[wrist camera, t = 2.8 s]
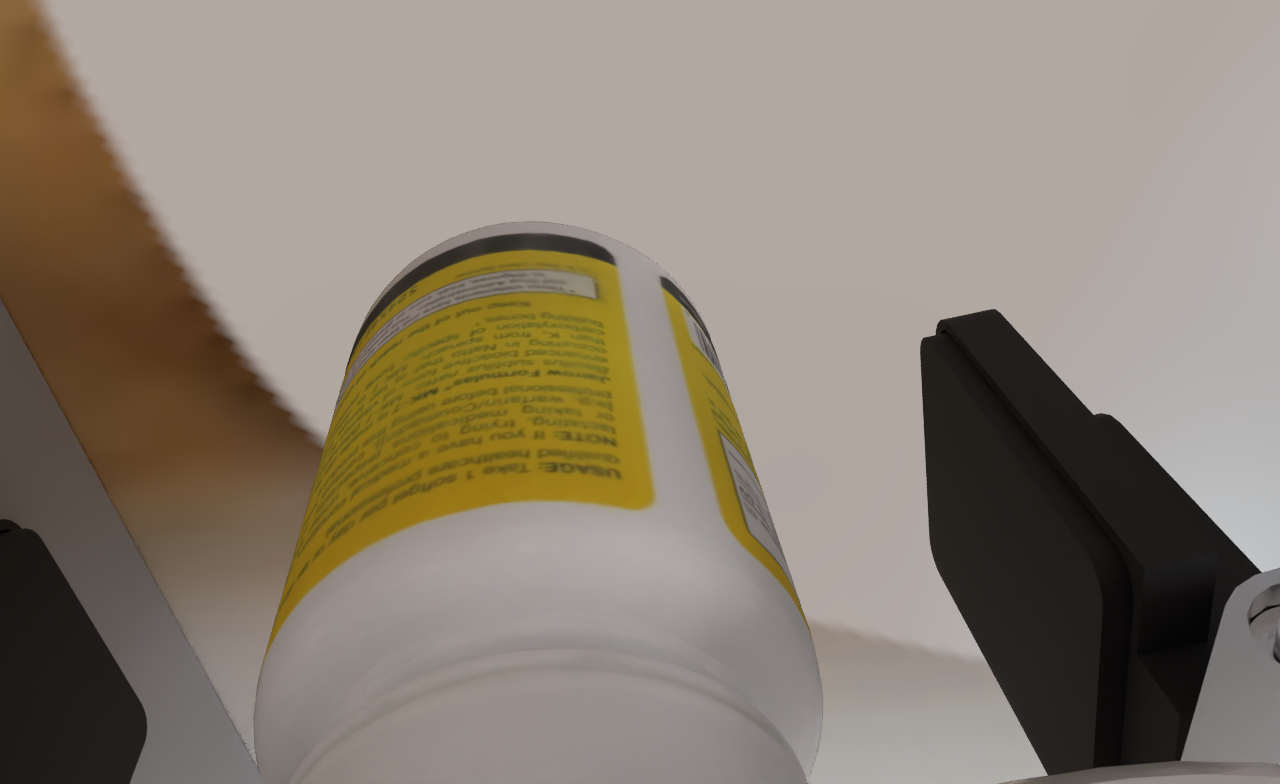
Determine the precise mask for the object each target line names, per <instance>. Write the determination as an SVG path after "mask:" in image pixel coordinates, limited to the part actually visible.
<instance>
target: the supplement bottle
mask: <svg viewBox="0 0 1280 784" xmlns="http://www.w3.org/2000/svg"><path fill="white" fill-rule="evenodd" d="M822 716H823V698H822V685H821V678H820V673H819V668H818V663H817V658H816V653H815V649H814V645H813V641H812V637H811V634H810V630H809V626H808V624H807V621H806V618H805V616H804V613H803V611H802V608H801V604H800V601H799V598H798V595H797V593H796V590H795V587H794V584H793V580H792V577H791V574H790V572H789V569H788V566H787V563H786V560H785V557H784V554H783V551H782V548H781V545H780V542H779V540H778V536H777V533H776V530H775V528H774V524H773V522H772V519H771V516H770V512H769V509H768V506H767V503H766V500H765V497H764V494H763V491H762V488H761V485H760V483H759V480H758V477H757V474H756V471H755V469H754V466H753V462H752V459H751V455H750V453H749V450H748V447H747V444H746V441H745V438H744V436H743V432H742V429H741V426H740V423H739V420H738V417H737V414H736V411H735V408H734V406H733V403H732V400H731V397H730V394H729V390H728V387H727V384H726V382H725V380H724V376H723V373H722V370H721V367H720V363H719V361H718V357H717V354H716V351H715V349H714V346H713V344H712V342H711V339H710V335H709V333H708V331H707V328H706V326H705V324H704V322H703V320H702V318H701V316H700V314H699V312H698V310H697V309H696V307H695V305H694V304H693V302H692V301H691V299H690V298H689V297H688V295H687V294H686V293H685V291H684V290H683V289H682V288H681V286H680V285H679V284H678V283H677V282H676V281H675V280H674V279H673V278H672V277H671V276H670V275H669V274H668V273H667V272H666V271H665V270H664V269H662V268H661V267H660V266H659V265H658V264H657V263H655V262H654V261H653V260H651V259H650V258H649V257H647V256H645V255H644V254H642V253H641V252H639V251H637V250H636V249H634V248H632V247H630V246H628V245H626V244H624V243H622V242H620V241H618V240H615V239H613V238H610V237H607V236H605V235H602V234H599V233H597V232H593V231H590V230H587V229H583V228H579V227H574V226H568V225H564V224H557V223H548V222H512V223H502V224H497V225H492V226H486V227H483V228H479V229H476V230H472V231H469V232H466V233H464V234H461V235H459V236H456V237H453V238H451V239H449V240H447V241H445V242H442V243H440V244H439V245H437V246H435V247H434V248H432V249H430V250H429V251H427V252H425V253H424V254H423V255H421V256H420V257H418V258H417V259H415V260H414V261H413V262H412V263H410V264H409V265H408V266H407V267H406V268H405V269H403V270H402V272H400V273H399V274H398V275H397V276H396V277H395V278H394V279H393V280H392V281H391V282H390V284H389V285H388V286H387V287H386V288H385V289H384V290H383V292H382V293H381V295H380V296H379V297H378V299H377V300H376V301H375V303H374V304H373V306H372V307H371V309H370V311H369V312H368V314H367V316H366V318H365V320H364V322H363V324H362V327H361V329H360V331H359V333H358V336H357V338H356V341H355V343H354V346H353V349H352V352H351V355H350V358H349V361H348V364H347V368H346V373H345V377H344V380H343V383H342V386H341V390H340V394H339V397H338V400H337V403H336V407H335V411H334V415H333V419H332V422H331V426H330V429H329V432H328V436H327V439H326V442H325V446H324V449H323V453H322V457H321V460H320V464H319V467H318V471H317V475H316V478H315V481H314V485H313V488H312V491H311V495H310V499H309V503H308V506H307V509H306V513H305V516H304V520H303V523H302V527H301V530H300V534H299V537H298V541H297V545H296V548H295V552H294V555H293V559H292V563H291V566H290V570H289V574H288V577H287V580H286V584H285V587H284V591H283V594H282V598H281V601H280V605H279V608H278V611H277V615H276V618H275V622H274V625H273V629H272V632H271V636H270V640H269V643H268V647H267V650H266V654H265V657H264V661H263V664H262V668H261V672H260V676H259V680H258V686H257V694H256V702H255V710H254V745H255V751H256V758H257V765H258V768H259V772H260V775H261V779H262V782H263V784H808V783H807V781H808V778H809V776H810V773H811V770H812V767H813V764H814V760H815V757H816V754H817V751H818V747H819V742H820V735H821V726H822Z"/></svg>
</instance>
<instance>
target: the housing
mask: <svg viewBox="0 0 1280 784" xmlns="http://www.w3.org/2000/svg"><path fill="white" fill-rule="evenodd" d="M0 519H7V520H12V521H13V522H15V523H16V524H18V525H19V526H20V527H21V528H22V529H24V528H27V529H32V530H33V531H35V532H36V533H37V534H38V535H39V536H40V537H41V539H42V540H43V542H44V543H45V545H46V547H47V548H48V550H49V552H50V553H51V555H52V557H53V558H54V560H55V562H56V563H57V565H58V566H59V568H60V570H61V571H62V573H63V575H64V576H65V578H66V580H67V581H68V583H69V585H70V586H71V588H72V590H73V591H74V593H75V594H76V596H77V598H78V599H79V601H80V603H81V604H82V606H83V608H84V609H85V611H86V613H87V614H88V616H89V618H90V619H91V621H92V622H93V624H94V626H95V627H96V629H97V631H98V632H99V634H100V636H101V637H102V639H103V641H104V642H105V644H106V646H107V647H108V649H109V650H110V652H111V654H112V655H113V657H114V659H115V660H116V662H117V664H118V665H119V667H120V669H121V670H122V672H123V674H124V675H125V677H126V679H127V680H128V682H129V683H130V685H131V687H132V688H133V690H134V692H135V693H136V695H137V697H138V698H139V700H140V702H141V703H142V705H143V708H144V710H145V713H146V717H147V737H146V741H145V744H144V747H143V749H142V752H141V755H140V757H139V760H138V763H137V765H136V768H135V771H134V773H133V776H132V779H131V781H130V784H263V782H262V779H261V775H260V772H259V770H258V769H257V767H256V765H255V763H254V761H253V759H252V758H251V756H250V754H249V752H248V750H247V748H246V747H245V745H244V743H243V741H242V739H241V738H240V736H239V734H238V732H237V730H236V728H235V727H234V725H233V723H232V721H231V719H230V717H229V716H228V714H227V712H226V710H225V708H224V706H223V705H222V703H221V701H220V699H219V697H218V695H217V694H216V692H215V690H214V688H213V686H212V684H211V683H210V681H209V679H208V677H207V675H206V673H205V672H204V670H203V668H202V666H201V664H200V662H199V661H198V659H197V657H196V655H195V653H194V652H193V650H192V648H191V646H190V644H189V642H188V641H187V639H186V637H185V635H184V633H183V631H182V630H181V628H180V626H179V624H178V622H177V620H176V619H175V617H174V615H173V613H172V611H171V609H170V608H169V606H168V604H167V602H166V600H165V598H164V597H163V595H162V593H161V591H160V589H159V587H158V586H157V584H156V582H155V580H154V578H153V577H152V575H151V573H150V571H149V569H148V567H147V566H146V564H145V562H144V560H143V558H142V556H141V555H140V553H139V551H138V549H137V547H136V545H135V544H134V542H133V540H132V538H131V536H130V534H129V533H128V531H127V529H126V527H125V525H124V523H123V522H122V520H121V518H120V516H119V514H118V512H117V511H116V509H115V507H114V505H113V503H112V501H111V500H110V498H109V496H108V494H107V492H106V491H105V489H104V487H103V485H102V483H101V481H100V480H99V478H98V476H97V474H96V472H95V470H94V469H93V467H92V465H91V463H90V461H89V459H88V458H87V456H86V454H85V452H84V450H83V448H82V447H81V445H80V443H79V441H78V439H77V437H76V436H75V434H74V432H73V430H72V428H71V426H70V425H69V423H68V421H67V419H66V417H65V416H64V414H63V412H62V410H61V408H60V406H59V405H58V403H57V401H56V399H55V397H54V395H53V394H52V392H51V390H50V388H49V386H48V384H47V383H46V381H45V379H44V377H43V375H42V373H41V372H40V370H39V368H38V366H37V364H36V362H35V361H34V359H33V357H32V355H31V353H30V351H29V350H28V348H27V346H26V344H25V342H24V340H23V339H22V337H21V335H20V333H19V331H18V330H17V328H16V326H15V324H14V322H13V320H12V319H11V317H10V315H9V313H8V311H7V309H6V308H5V306H4V304H3V302H2V300H1V298H0Z"/></svg>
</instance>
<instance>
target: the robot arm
mask: <svg viewBox="0 0 1280 784" xmlns="http://www.w3.org/2000/svg"><path fill="white" fill-rule="evenodd" d="M920 347H921V348H920V354H921V355H920V356H921V376H922V396H923V415H924V435H925V455H926V456H925V457H926V477H927V496H928V516H929V537H930V545H931V550H932V554H933V558H934V561H935V564H936V567H937V569H938V571H939V573H940V575H941V577H942V579H943V581H944V583H945V585H946V587H947V589H948V590H949V592H950V594H951V596H952V598H953V600H954V602H955V603H956V605H957V607H958V609H959V611H960V613H961V615H962V616H963V618H964V620H965V622H966V624H967V625H968V627H969V629H970V631H971V633H972V635H973V637H974V639H975V640H976V642H977V644H978V646H979V648H980V650H981V652H982V653H983V655H984V657H985V659H986V661H987V663H988V665H989V666H990V668H991V670H992V672H993V674H994V676H995V678H996V679H997V681H998V683H999V685H1000V687H1001V689H1002V691H1003V692H1004V694H1005V696H1006V698H1007V700H1008V702H1009V704H1010V705H1011V707H1012V709H1013V711H1014V713H1015V715H1016V717H1017V718H1018V720H1019V722H1020V724H1021V726H1022V728H1023V730H1024V731H1025V733H1026V735H1027V737H1028V739H1029V741H1030V742H1031V744H1032V746H1033V748H1034V750H1035V752H1036V754H1037V755H1038V757H1039V759H1040V761H1041V763H1042V765H1043V767H1044V768H1045V770H1046V772H1047V774H1048V776H1044V777H1037V778H1030V779H1023V780H1016V781H1010V782H1004V783H999V784H1280V568H1278V569H1275V570H1271V571H1268V572H1264V573H1262V572H1261V571H1260V570H1259V569H1258V568H1257V567H1256V566H1255V565H1254V564H1253V563H1252V562H1251V561H1250V560H1249V559H1248V558H1247V556H1246V555H1245V554H1244V553H1243V552H1242V551H1241V550H1240V549H1239V548H1238V547H1237V546H1236V545H1235V544H1234V543H1233V542H1232V541H1231V540H1230V539H1229V537H1228V536H1227V535H1226V534H1225V533H1224V532H1223V531H1222V530H1221V529H1220V528H1219V527H1218V526H1217V525H1216V524H1215V523H1214V522H1213V520H1212V519H1211V518H1209V516H1208V515H1207V514H1206V513H1205V512H1204V511H1203V510H1202V509H1201V508H1200V507H1199V506H1198V505H1197V504H1196V502H1195V501H1194V500H1193V499H1192V498H1191V497H1190V496H1189V495H1188V494H1187V493H1186V492H1185V491H1184V490H1183V489H1182V488H1181V487H1180V486H1179V484H1178V483H1177V482H1176V481H1175V480H1174V479H1173V478H1172V477H1171V476H1170V475H1169V474H1168V473H1167V472H1166V471H1165V470H1164V469H1163V468H1162V467H1161V465H1160V464H1159V463H1158V462H1157V461H1156V460H1155V459H1154V458H1153V457H1152V456H1151V455H1150V454H1149V453H1148V452H1147V451H1146V450H1145V448H1144V447H1143V446H1142V445H1141V444H1140V443H1139V442H1138V441H1137V440H1136V439H1135V438H1134V437H1133V436H1132V435H1131V434H1130V433H1129V432H1128V430H1127V429H1126V428H1125V427H1124V426H1123V425H1122V424H1121V423H1120V422H1118V421H1117V420H1116V419H1115V418H1113V417H1112V416H1111V415H1107V414H1102V413H1101V414H1096V415H1093V414H1092V413H1091V412H1090V411H1089V410H1088V409H1087V408H1086V406H1085V405H1084V404H1083V403H1082V402H1081V401H1080V400H1079V399H1078V398H1077V397H1076V395H1075V394H1074V393H1073V392H1072V391H1071V390H1070V389H1069V388H1068V387H1067V386H1066V384H1065V383H1064V382H1063V381H1062V380H1061V379H1060V378H1059V377H1058V376H1057V375H1056V374H1055V372H1054V371H1053V370H1052V369H1051V368H1050V367H1049V366H1048V365H1047V364H1046V363H1045V362H1044V360H1043V359H1042V358H1041V357H1040V356H1039V355H1038V354H1037V353H1036V352H1035V351H1034V350H1033V349H1032V347H1031V346H1030V345H1029V344H1028V343H1027V342H1026V341H1025V340H1024V338H1023V337H1022V336H1021V335H1020V334H1019V333H1018V332H1017V331H1016V330H1015V329H1014V328H1013V326H1012V325H1011V324H1010V323H1009V322H1008V321H1007V320H1006V319H1005V318H1004V317H1003V316H1002V314H1001V313H999V312H998V311H997V310H995V309H993V310H986V311H981V312H977V313H972V314H968V315H963V316H958V317H953V318H948V319H944V320H940V321H939V323H938V324H937V329H936V335H935V336H930V337H925V338H923V340H922V341H921V346H920ZM146 737H147V717H146V713H145V710H144V708H143V705H142V703H141V702H140V700H139V698H138V697H137V695H136V693H135V692H134V690H133V688H132V687H131V685H130V683H129V682H128V680H127V679H126V677H125V675H124V674H123V672H122V670H121V669H120V667H119V665H118V664H117V662H116V660H115V659H114V657H113V655H112V654H111V652H110V650H109V649H108V647H107V646H106V644H105V642H104V641H103V639H102V637H101V636H100V634H99V632H98V631H97V629H96V627H95V626H94V624H93V622H92V621H91V619H90V618H89V616H88V614H87V613H86V611H85V609H84V608H83V606H82V604H81V603H80V601H79V599H78V598H77V596H76V594H75V593H74V591H73V590H72V588H71V586H70V585H69V583H68V581H67V580H66V578H65V576H64V575H63V573H62V571H61V570H60V568H59V566H58V565H57V563H56V562H55V560H54V558H53V557H52V555H51V553H50V552H49V550H48V548H47V547H46V545H45V543H44V542H43V540H42V539H41V537H40V536H39V535H38V534H37V533H36V532H35V531H33V530H32V529H27V528H24V529H22V528H21V527H20V526H19V525H18V524H16V523H15V522H13V521H12V520H7V519H0V784H130V781H131V779H132V776H133V773H134V771H135V768H136V765H137V763H138V760H139V757H140V755H141V752H142V749H143V747H144V744H145V741H146Z"/></svg>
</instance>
